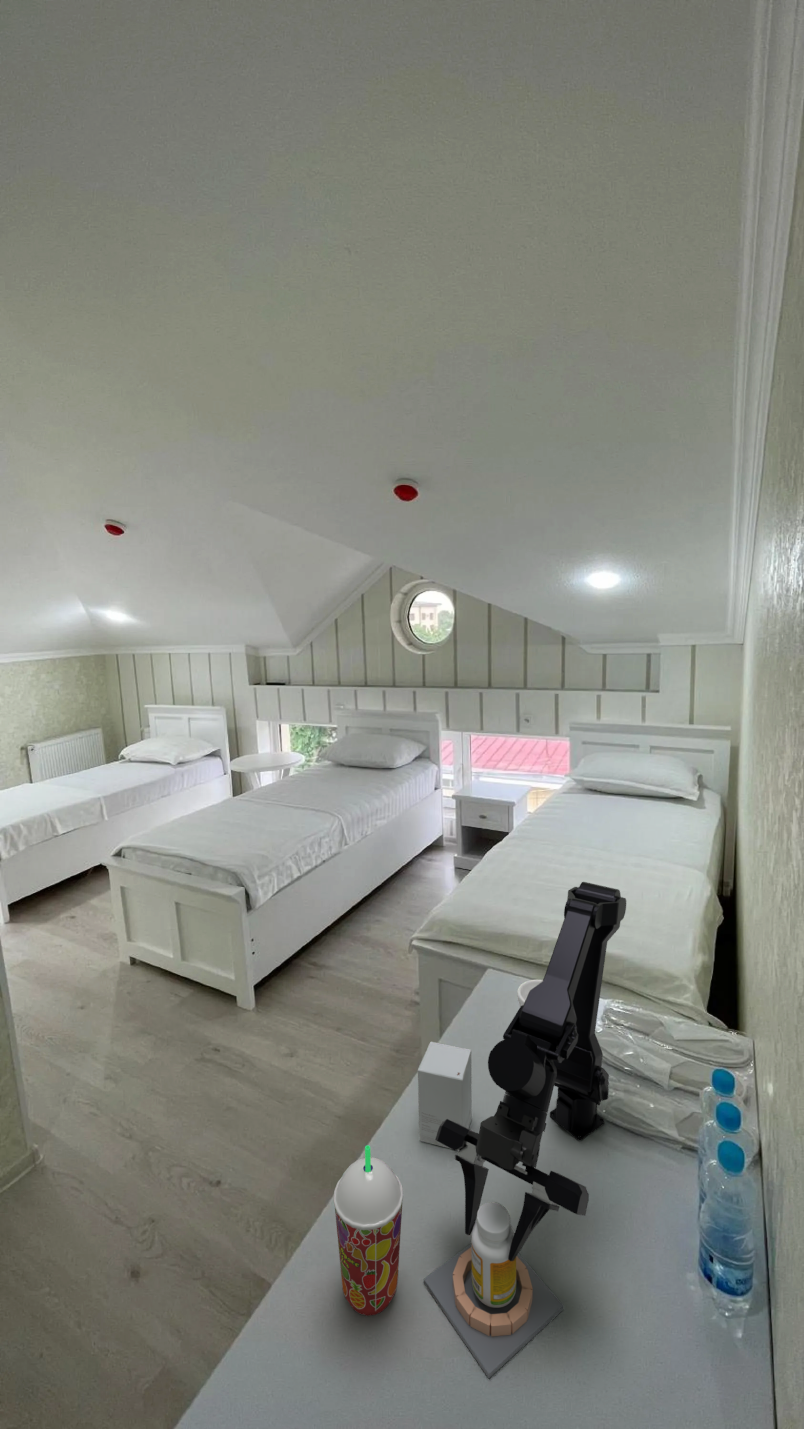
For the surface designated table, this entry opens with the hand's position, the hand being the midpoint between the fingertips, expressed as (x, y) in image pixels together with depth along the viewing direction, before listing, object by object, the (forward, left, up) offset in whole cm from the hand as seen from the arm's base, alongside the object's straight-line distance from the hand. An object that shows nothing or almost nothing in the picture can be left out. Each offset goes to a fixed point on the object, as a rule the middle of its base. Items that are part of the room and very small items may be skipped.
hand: (488, 1247), depth 73 cm
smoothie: (+11, -9, -8) cm, 17 cm away
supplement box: (-12, -23, -8) cm, 28 cm away
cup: (-42, -30, -8) cm, 53 cm away
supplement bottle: (-1, 0, -7) cm, 7 cm away
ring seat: (-1, 0, -8) cm, 8 cm away
